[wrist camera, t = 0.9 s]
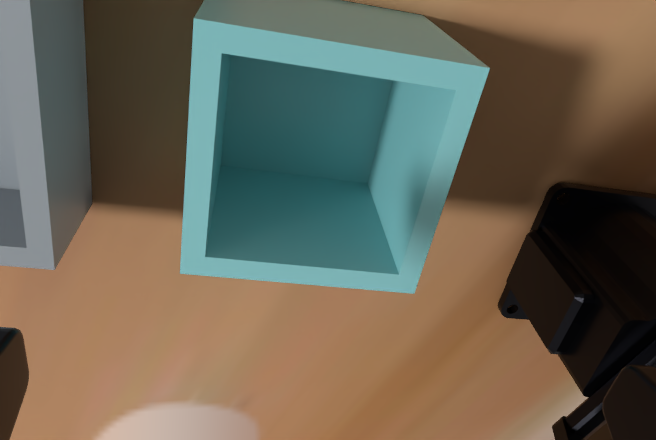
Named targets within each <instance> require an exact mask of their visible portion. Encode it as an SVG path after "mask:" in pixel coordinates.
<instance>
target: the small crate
mask: <svg viewBox="0 0 656 440" xmlns="http://www.w3.org/2000/svg"><path fill="white" fill-rule="evenodd" d="M489 70H490V68H489V67H488V66H487V65H485V64H484V63H483V62H482V61H480V60H479V59H478V58H477V57H475V56H474V55H473V54H472V53H470V52H469V51H468V50H466V49H465V48H464V47H463V46H461V45H460V44H459V43H458V42H456V41H455V40H454V39H453V38H451V37H450V36H449V35H447V34H446V33H445V32H444V31H442V30H441V29H440V28H439V27H437V26H436V25H435V24H433V23H432V22H431V21H430V20H428V19H427V18H426V17H425V16H423V15H419V14H414V13H408V12H403V11H397V10H392V9H386V8H381V7H376V6H370V5H365V4H359V3H354V2H348V1H343V0H204V1H203V3H202V5H201V7H200V8H199V10H198V12H197V13H196V15H195V17H194V21H193V40H192V59H191V77H190V96H189V115H188V133H187V152H186V170H185V189H184V208H183V226H182V245H181V264H180V274H191V275H203V276H214V277H226V278H238V279H249V280H261V281H273V282H284V283H296V284H308V285H319V286H331V287H343V288H354V289H366V290H378V291H389V292H401V293H413V294H414V293H415V290H416V287H417V284H418V281H419V278H420V275H421V272H422V269H423V266H424V263H425V260H426V257H427V254H428V251H429V248H430V245H431V242H432V239H433V236H434V233H435V230H436V227H437V224H438V221H439V218H440V215H441V212H442V209H443V206H444V203H445V201H446V198H447V195H448V192H449V189H450V186H451V183H452V180H453V177H454V174H455V171H456V168H457V165H458V162H459V159H460V156H461V153H462V150H463V147H464V144H465V141H466V138H467V135H468V132H469V129H470V126H471V123H472V120H473V117H474V114H475V111H476V108H477V105H478V102H479V99H480V96H481V94H482V91H483V88H484V85H485V82H486V79H487V76H488V73H489Z"/></svg>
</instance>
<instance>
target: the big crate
mask: <svg viewBox="0 0 656 440" xmlns="http://www.w3.org/2000/svg"><path fill="white" fill-rule="evenodd" d="M91 205H92V184H91V162H90V140H89V118H88V96H87V74H86V52H85V30H84V8H83V0H0V265H2V266H14V267H26V268H38V269H50V270H55V268H56V267H57V265H58V263H59V261H60V260H61V258H62V256H63V254H64V253H65V251H66V249H67V247H68V245H69V244H70V242H71V240H72V238H73V237H74V235H75V233H76V231H77V229H78V228H79V226H80V224H81V222H82V221H83V219H84V217H85V215H86V213H87V212H88V210H89V208H90V206H91Z"/></svg>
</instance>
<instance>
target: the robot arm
mask: <svg viewBox="0 0 656 440" xmlns="http://www.w3.org/2000/svg"><path fill="white" fill-rule="evenodd" d="M563 193H565V195H564V196H563V198H561V199H558V200H557V198H558V197H559V195H561V194H563ZM511 305H513V306H511ZM509 306H511V307H509ZM508 307H509V308H508ZM498 308H499V310H500V312H501V314H502V315H503V316H504V317H506V318H515V319H527V320H530V322H531V324H532V325H533V327H534V328H535V330H536V332H537V333H538V335H539V337H540V338H541V340H542V341H543V343H544V345H545V346H546V348H547V349H548V351H549V352H550V353H551V354H558V356H559V357H560V359H561V360H562V362H563V363H564V365H565V367H566V368H567V370H568V371H569V373H570V375H571V376H572V378H573V379H574V381H575V383H576V384H577V386H578V387H579V389H580V391H581V392H582V394H583V395H584V396H586V397H589V398H587V399H586V400H585V401H584V402H583V403H582V404H581V405H579V406H578V407H577V408H576V409H575V410H574V411H573V412H572V413H570V414H569V415H568V416H567V417H566V416H563V417H562V418H560V419H559V420H558V421H557V422H556V423H555V424H554V425H553V426H552V429H553V433H554V437H555V440H656V195H655V194H647V193H640V192H632V191H624V190H617V189H609V188H602V187H594V186H586V185H579V184H571V183H557V184H555V185H553V186H552V187H551V188H550V189H549V190H548V192H547V194H546V196H545V198H544V200H543V203H542V205H541V207H540V209H539V212H538V214H537V216H536V218H535V221H534V223H533V225H532V228H531V230H530V232H529V233H528V234H527V235H526V238H525V240H524V242H523V244H522V247H521V249H520V251H519V254H518V256H517V258H516V260H515V263H514V265H513V267H512V269H511V272H510V274H509V276H508V279H507V284H506V286H505V289H504V291H503V293H502V295H501V298H500V300H499V302H498ZM28 380H29V369H28V363H27V357H26V351H25V345H24V339H23V335H22V333H21V331H20V330H19V329H16V328H6V327H0V440H10V437H11V434H12V431H13V428H14V425H15V422H16V419H17V416H18V413H19V410H20V407H21V404H22V401H23V398H24V395H25V393H26V389H27V385H28Z"/></svg>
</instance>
